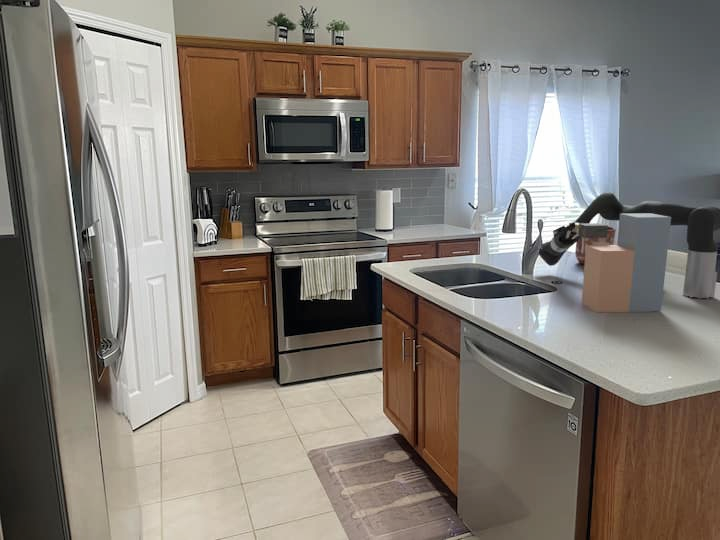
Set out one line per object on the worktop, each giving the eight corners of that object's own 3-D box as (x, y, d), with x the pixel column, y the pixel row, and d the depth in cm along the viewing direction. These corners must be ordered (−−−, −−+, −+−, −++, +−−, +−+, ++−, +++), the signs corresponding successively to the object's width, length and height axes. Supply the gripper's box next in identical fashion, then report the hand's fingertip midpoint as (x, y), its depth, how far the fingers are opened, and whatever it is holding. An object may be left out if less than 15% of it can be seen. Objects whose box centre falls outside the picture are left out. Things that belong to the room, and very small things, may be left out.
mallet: (562, 230, 217) (563, 218, 216) (582, 229, 218) (583, 218, 217) (584, 238, 197) (585, 225, 196) (607, 237, 197) (608, 225, 196)
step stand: (642, 302, 197) (651, 213, 191) (660, 311, 186) (671, 217, 179) (581, 303, 197) (588, 213, 190) (596, 312, 185) (604, 217, 179)
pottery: (565, 262, 271) (568, 226, 267) (591, 259, 278) (594, 224, 274) (593, 269, 255) (597, 231, 251) (620, 266, 262) (624, 228, 258)
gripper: (544, 232, 229) (559, 215, 212) (578, 231, 229) (595, 215, 213) (546, 249, 227) (562, 233, 210) (580, 248, 227) (598, 233, 210)
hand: (578, 224), depth 212 cm, fingers closed on mallet, 3 cm apart
